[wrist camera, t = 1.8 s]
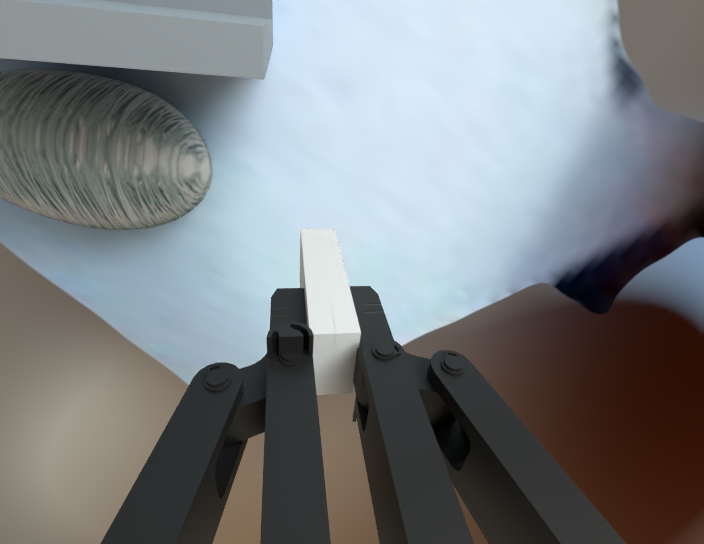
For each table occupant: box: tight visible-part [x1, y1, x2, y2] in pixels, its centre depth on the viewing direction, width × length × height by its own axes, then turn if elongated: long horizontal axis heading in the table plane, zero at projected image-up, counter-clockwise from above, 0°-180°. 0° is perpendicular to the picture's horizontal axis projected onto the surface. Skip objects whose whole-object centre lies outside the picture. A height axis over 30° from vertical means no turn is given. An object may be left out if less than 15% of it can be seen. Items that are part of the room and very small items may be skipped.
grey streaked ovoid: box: [0, 69, 212, 230], centre depth 24 cm, size 14×10×10 cm
